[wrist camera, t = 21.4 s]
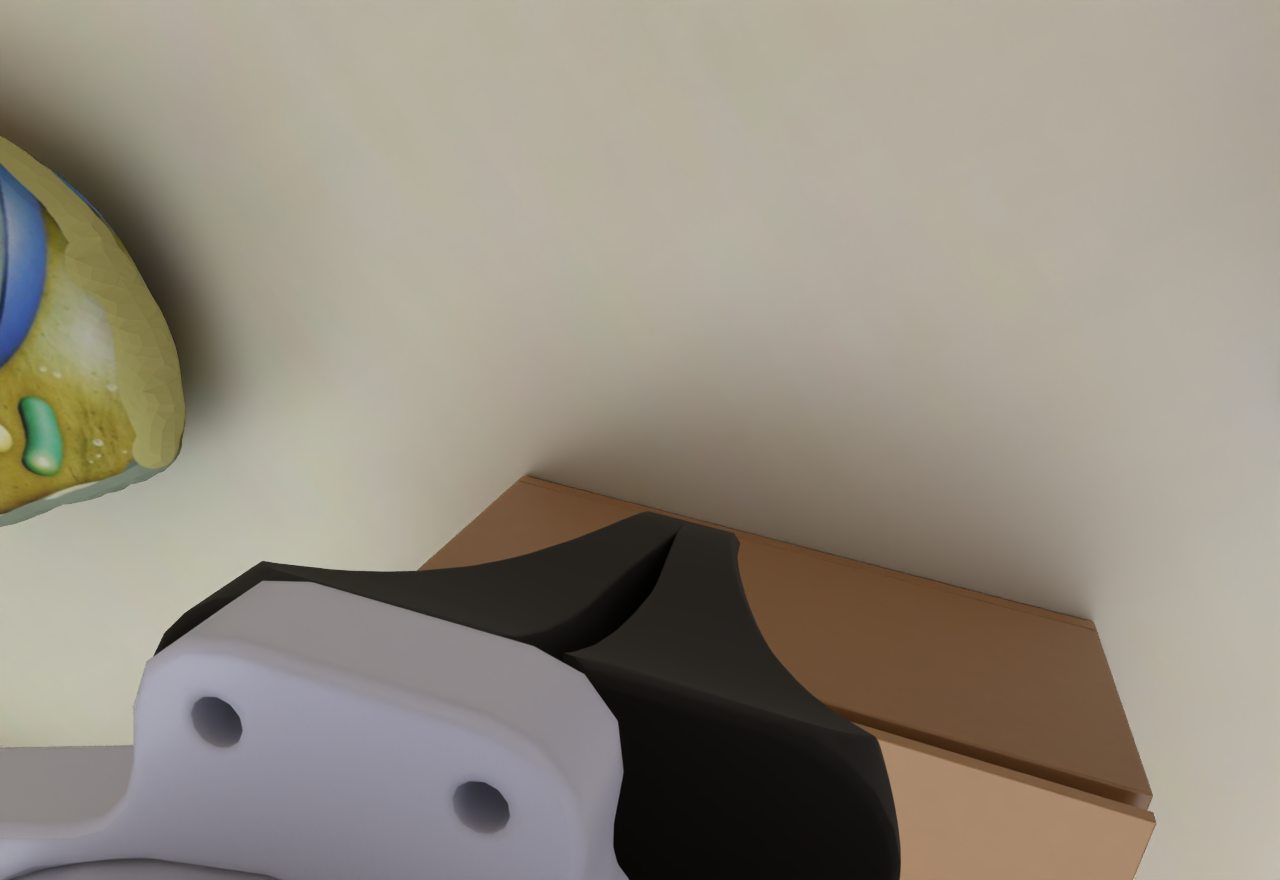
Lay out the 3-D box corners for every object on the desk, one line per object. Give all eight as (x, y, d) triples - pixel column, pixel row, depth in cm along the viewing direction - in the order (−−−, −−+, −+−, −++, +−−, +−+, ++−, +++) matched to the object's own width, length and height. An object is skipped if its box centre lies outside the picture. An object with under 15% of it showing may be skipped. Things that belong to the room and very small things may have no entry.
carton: (1094, 621, 23) (1164, 822, 17) (946, 1037, 27) (953, 1327, 21) (523, 474, 26) (386, 596, 19) (470, 874, 30) (343, 1087, 23)
